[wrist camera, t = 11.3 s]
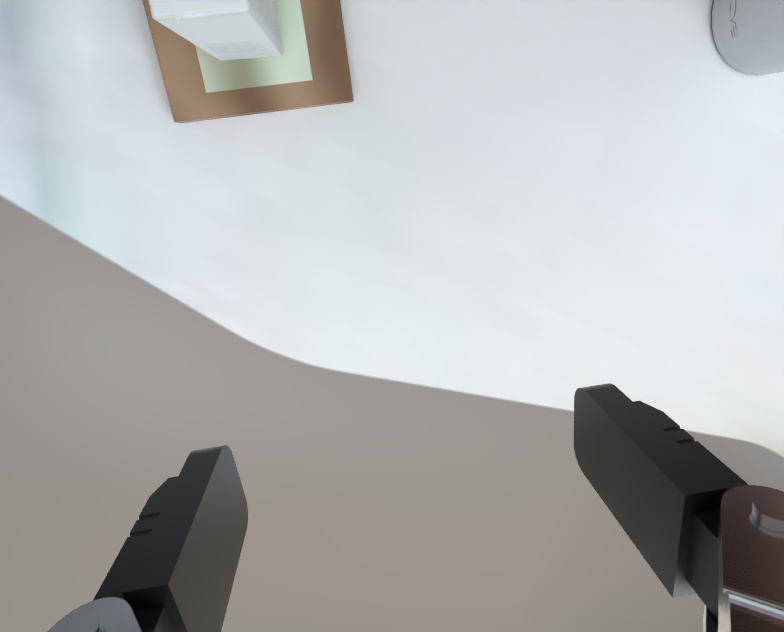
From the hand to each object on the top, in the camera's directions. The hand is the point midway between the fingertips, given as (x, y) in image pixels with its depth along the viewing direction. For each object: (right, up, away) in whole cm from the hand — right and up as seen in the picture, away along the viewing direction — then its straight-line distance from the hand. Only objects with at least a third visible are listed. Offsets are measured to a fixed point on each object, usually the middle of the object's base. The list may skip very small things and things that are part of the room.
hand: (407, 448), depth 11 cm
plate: (-10, +23, +20) cm, 32 cm away
